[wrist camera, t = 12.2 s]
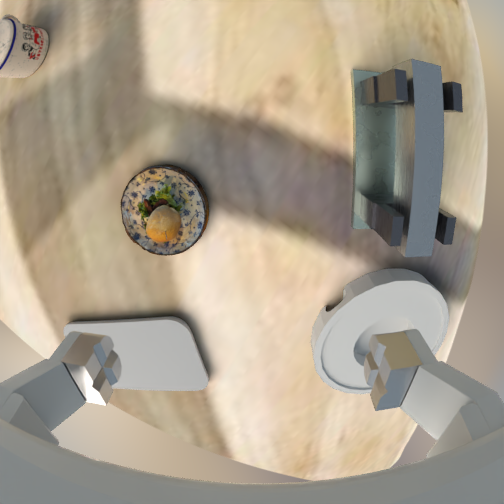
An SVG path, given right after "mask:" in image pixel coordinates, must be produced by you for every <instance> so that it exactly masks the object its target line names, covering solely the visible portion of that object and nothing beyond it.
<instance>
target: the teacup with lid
mask: <svg viewBox="0 0 504 504" xmlns="http://www.w3.org/2000/svg"><path fill="white" fill-rule="evenodd" d="M48 44H49V38H48V34H47V32H46V31H45V30H43V29H41V28H37V27H34V26H30V25H26V24H22V23H20V21H19V20H18V19H17V18H16V17H14V16H13V15H5V16H4V17H3V18H2V19H1V20H0V77H11V78H25V77H28V76H30V75H31V74H33V73H34V72H35V71H36V70H37V69H38V67H39V66H40V65H41V63H42V62H43V60H44V58H45V56H46V53H47V50H48Z"/></svg>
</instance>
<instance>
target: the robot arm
mask: <svg viewBox="0 0 504 504" xmlns="http://www.w3.org/2000/svg"><path fill="white" fill-rule="evenodd" d="M113 348H114V343H113V341H112V338H111V337H109V336H107V335H100V334H93V333H86V332H78V331H72V332H70V333H69V334H68V335H67V336H66V338H65V339H64V340H63V341H62V343H61V344H60V345H59V347H58V348H57V349H56V351H55V352H54V353H53V355H52V356H51V357H50V359H45V360H43V361H41V362H39V363H37V364H35V365H34V366H31V367H30V368H28V369H26V370H24V371H22V372H20V373H18V374H17V375H15V376H13V377H11V378H9V379H7V380H5V381H3V382H2V383H0V504H504V403H503V401H502V400H501V398H500V397H499V395H498V393H497V392H496V391H494V390H492V389H490V388H488V387H487V386H485V385H483V384H481V383H480V382H478V381H476V380H474V379H472V378H471V377H469V376H467V375H465V374H464V373H462V372H460V371H458V370H457V369H455V368H453V367H451V366H450V365H448V364H446V363H444V362H443V361H440V362H438V361H437V359H436V358H435V356H434V354H433V353H432V351H431V349H430V348H429V346H428V345H427V343H426V341H425V340H424V338H423V337H422V335H421V333H420V332H419V330H417V329H410V330H404V331H399V332H392V333H384V334H375V335H372V336H371V338H370V341H369V348H370V350H371V351H370V352H369V353H368V354H367V355H366V357H365V362H364V376H365V380H366V383H367V385H369V386H370V387H371V388H372V391H371V394H370V396H371V399H372V402H373V405H374V408H375V411H378V410H384V409H390V408H396V407H400V408H401V409H402V410H403V411H404V412H405V413H406V414H407V415H409V416H410V417H411V418H412V419H413V420H414V421H415V422H416V423H418V424H419V425H420V426H421V427H422V428H423V429H424V430H425V431H427V432H428V433H429V434H430V435H431V436H432V437H433V438H434V439H436V440H437V441H436V443H435V444H434V445H433V447H432V448H431V449H430V450H429V452H428V453H427V455H426V456H427V459H423V460H420V461H416V462H413V463H409V464H406V465H402V466H398V467H394V468H390V469H386V470H381V471H377V472H372V473H367V474H362V475H356V476H350V477H344V478H337V479H329V480H320V481H310V482H297V483H272V484H250V483H248V484H246V483H224V482H211V481H202V480H193V479H185V478H178V477H171V476H165V475H159V474H154V473H149V472H144V471H139V470H135V469H131V468H127V467H123V466H119V465H115V464H112V463H108V462H104V461H101V460H97V459H94V458H91V457H88V456H85V455H82V454H79V453H76V452H73V451H71V450H68V449H66V448H63V447H60V446H58V444H59V442H58V439H57V438H56V437H55V436H54V435H53V434H52V433H51V431H52V430H53V429H54V428H56V427H57V426H58V425H59V424H61V423H62V422H63V421H64V420H65V419H67V418H68V417H69V416H70V415H71V414H73V413H74V412H75V411H77V410H78V409H79V408H80V407H81V406H83V405H84V404H85V403H86V402H91V403H96V404H101V405H107V403H108V401H109V399H110V397H111V395H112V393H113V388H112V385H114V384H115V383H117V382H118V380H119V378H120V376H121V370H122V365H121V360H120V358H119V355H118V354H117V353H116V352H114V351H113Z"/></svg>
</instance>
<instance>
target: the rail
mask: <svg viewBox="0 0 504 504" xmlns="http://www.w3.org/2000/svg"><path fill="white" fill-rule="evenodd" d="M393 69H400V70H405V71H406V76H407V91H408V101H405V102H398V103H395V115H396V153H395V179H394V195H393V209H394V210H395V211H397V212H398V213H400V214H401V215H403V216H404V222H403V230H402V238H401V246H394V247H395V248H396V249H397V250H398V251H399V252H400V253H401V254H402V255H403V256H404V257H422V256H432V251H433V245H434V239H435V233H436V226H437V219H438V212H439V204H440V194H441V184H442V170H443V150H444V108H443V88H442V75H441V66H438V65H434V64H431V63H427V62H423V61H418V60H414V59H410V60H407V61H405V62H402V63H400V64H397V65H395V66H393Z"/></svg>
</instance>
